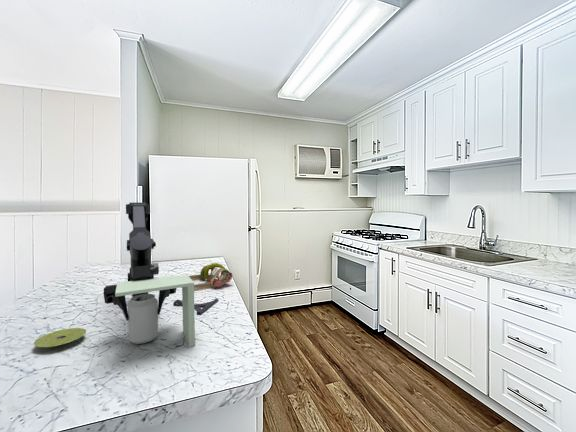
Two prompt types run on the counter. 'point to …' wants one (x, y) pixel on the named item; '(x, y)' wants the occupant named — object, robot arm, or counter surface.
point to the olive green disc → (60, 337)
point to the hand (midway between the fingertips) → (143, 317)
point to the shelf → (164, 284)
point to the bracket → (198, 305)
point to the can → (142, 318)
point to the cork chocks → (202, 285)
